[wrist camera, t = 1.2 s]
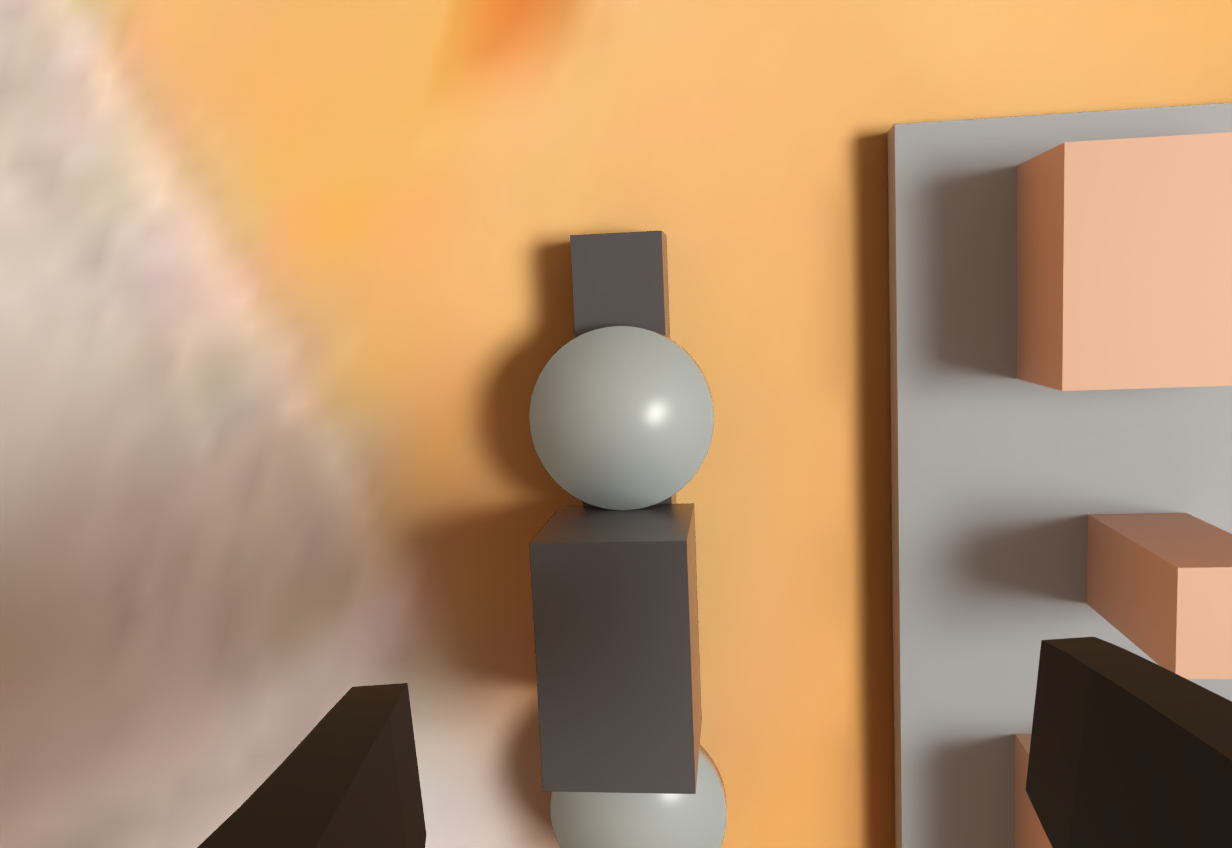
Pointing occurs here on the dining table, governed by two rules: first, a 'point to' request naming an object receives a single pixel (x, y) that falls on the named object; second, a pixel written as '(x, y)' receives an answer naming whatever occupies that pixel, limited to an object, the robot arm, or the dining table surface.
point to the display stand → (1051, 431)
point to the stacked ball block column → (622, 564)
